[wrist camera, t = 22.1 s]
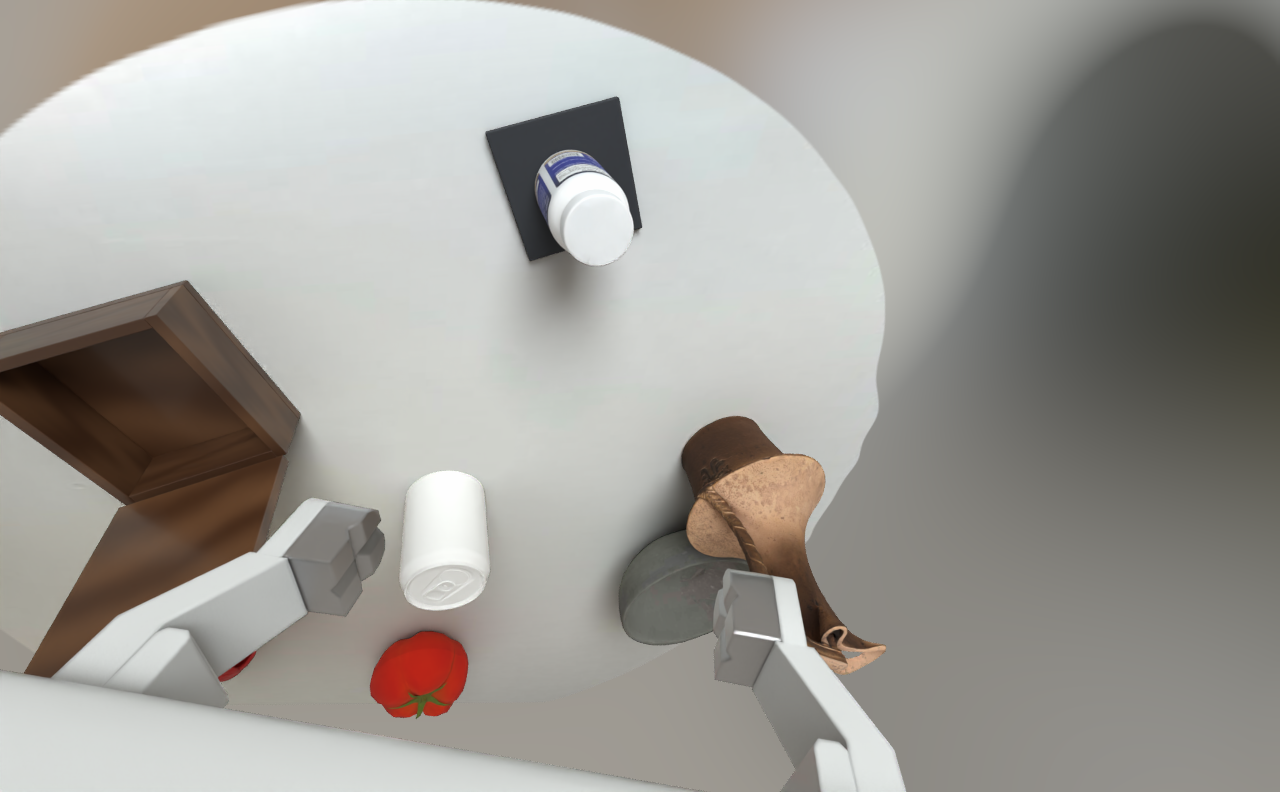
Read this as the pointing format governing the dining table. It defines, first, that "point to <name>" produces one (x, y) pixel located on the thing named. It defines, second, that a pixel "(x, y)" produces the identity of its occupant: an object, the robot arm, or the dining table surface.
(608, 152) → the mat
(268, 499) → the chest lid
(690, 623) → the bowl
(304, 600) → the robot arm
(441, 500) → the beverage can
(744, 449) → the pitcher
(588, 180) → the pill bottle
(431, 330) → the dining table surface
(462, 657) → the tomato
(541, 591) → the dining table surface
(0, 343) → the chest
